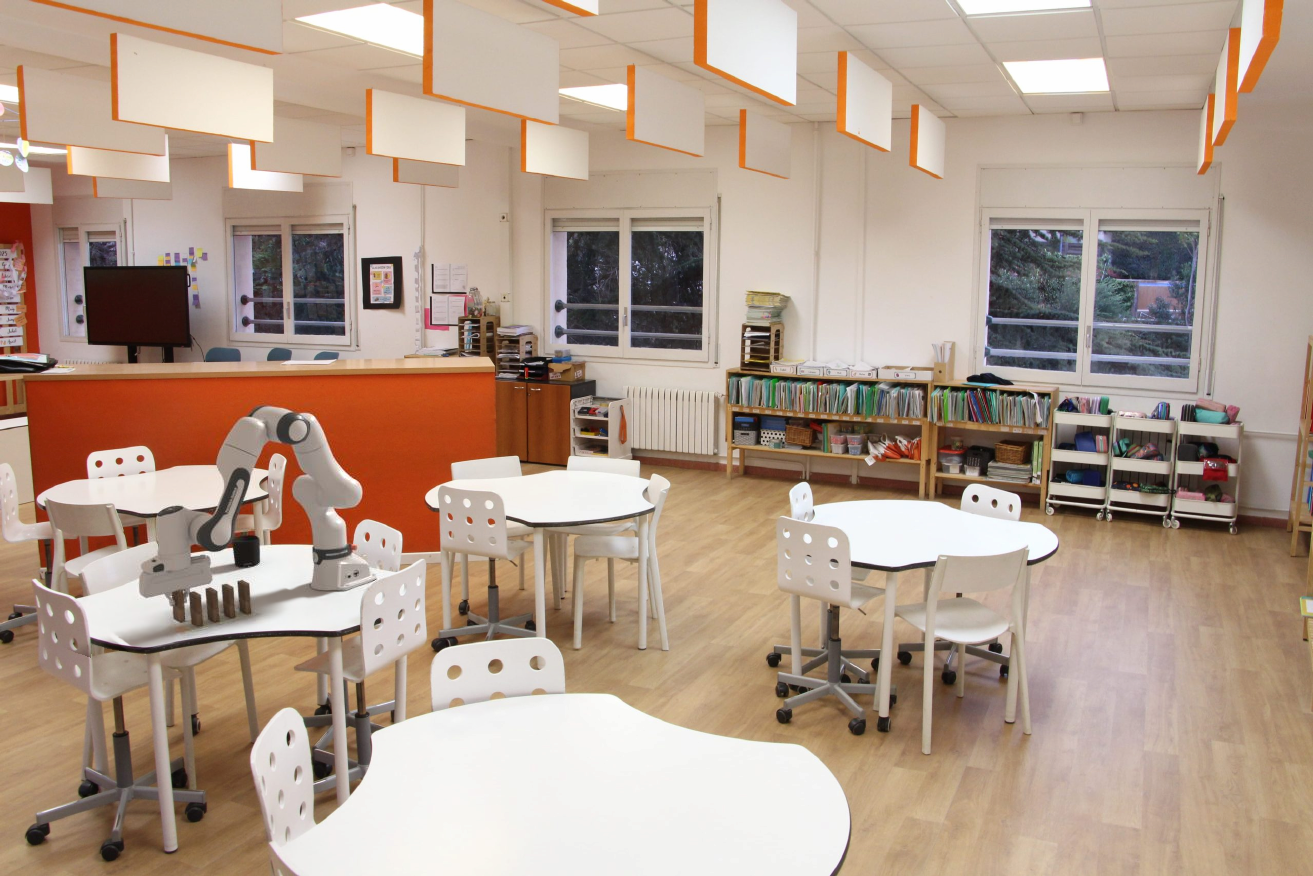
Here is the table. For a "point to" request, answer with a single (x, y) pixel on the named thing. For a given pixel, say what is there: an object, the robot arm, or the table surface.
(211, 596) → the domino
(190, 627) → the domino board
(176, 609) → the end domino
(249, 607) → the domino
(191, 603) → the domino
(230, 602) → the domino
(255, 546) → the pen holder
